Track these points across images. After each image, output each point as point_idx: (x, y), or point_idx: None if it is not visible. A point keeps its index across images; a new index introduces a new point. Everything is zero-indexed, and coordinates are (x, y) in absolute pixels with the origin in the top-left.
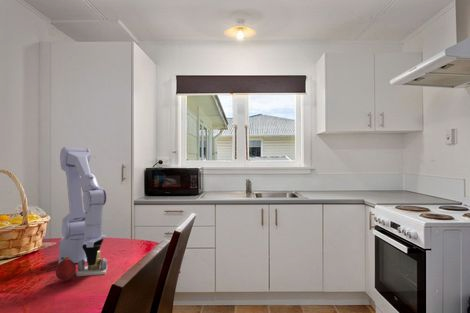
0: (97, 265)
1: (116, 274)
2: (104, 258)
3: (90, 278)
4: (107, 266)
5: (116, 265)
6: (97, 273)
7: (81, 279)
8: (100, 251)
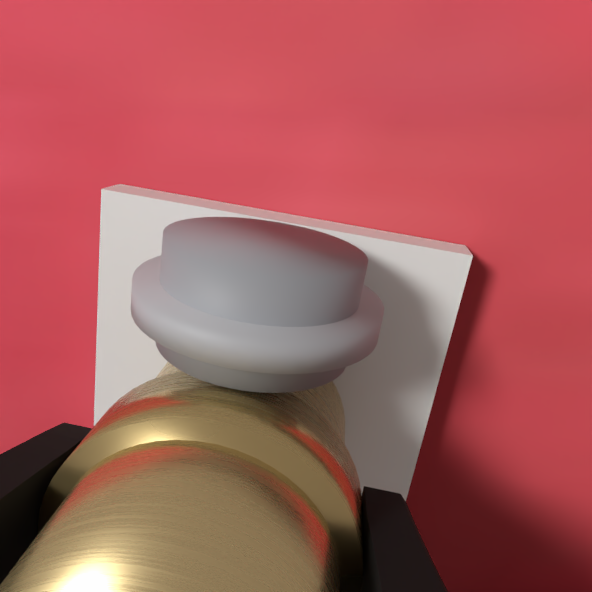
0: (327, 412)
1: (577, 37)
2: (206, 322)
3: (556, 452)
4: (120, 187)
5: (44, 11)
6: (437, 364)
7: (535, 551)
8: (150, 571)
